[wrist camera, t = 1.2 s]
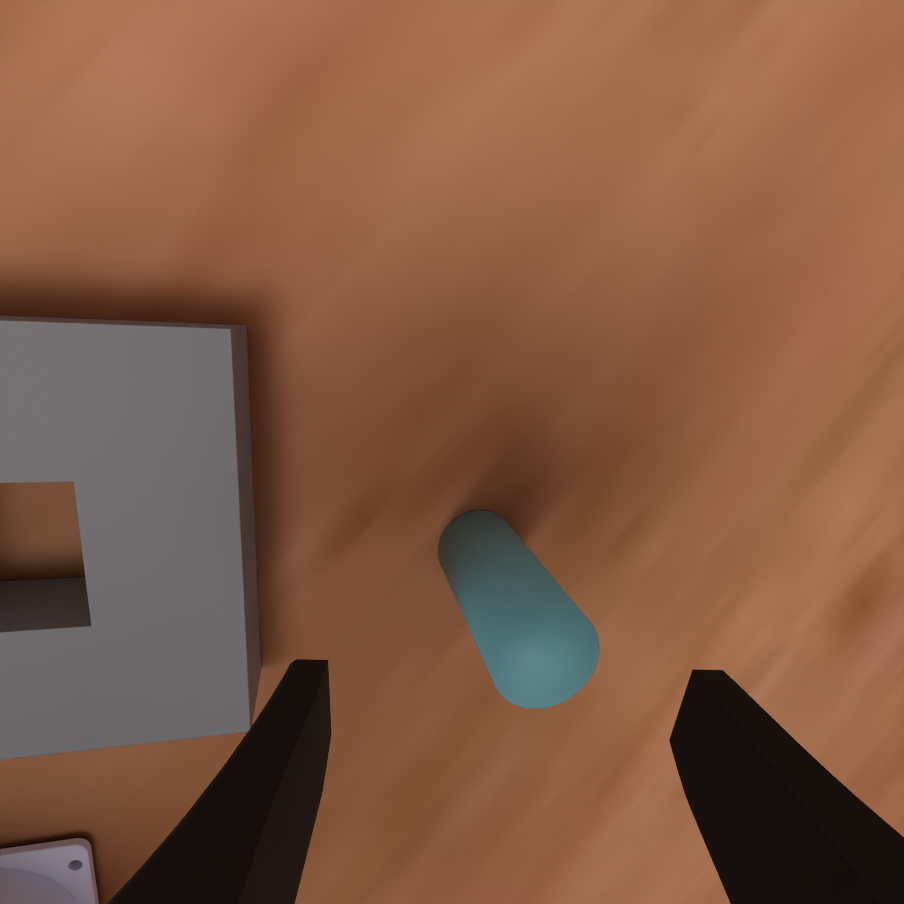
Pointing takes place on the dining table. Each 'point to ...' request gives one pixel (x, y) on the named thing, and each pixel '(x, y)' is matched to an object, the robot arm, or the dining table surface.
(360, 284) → the dining table surface
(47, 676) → the socket
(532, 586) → the peg
